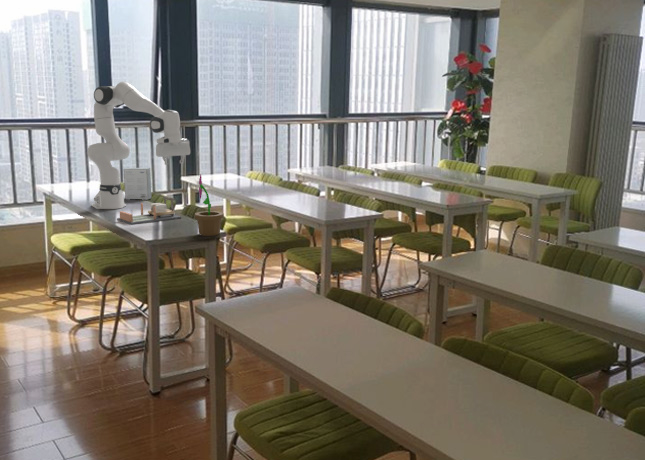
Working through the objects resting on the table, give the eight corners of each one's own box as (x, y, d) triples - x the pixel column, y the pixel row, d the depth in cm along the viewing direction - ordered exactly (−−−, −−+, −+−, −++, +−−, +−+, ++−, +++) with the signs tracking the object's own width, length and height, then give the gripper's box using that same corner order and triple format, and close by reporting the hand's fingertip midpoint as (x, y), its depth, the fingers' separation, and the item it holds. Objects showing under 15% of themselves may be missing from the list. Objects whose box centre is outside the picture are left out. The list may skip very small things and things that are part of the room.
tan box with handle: (148, 214, 396) (147, 197, 395) (165, 212, 404) (165, 195, 402) (156, 217, 389) (156, 199, 387) (174, 215, 396) (174, 198, 394)
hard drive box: (152, 198, 462) (150, 167, 458) (148, 200, 455) (146, 169, 451) (128, 197, 464) (127, 167, 459) (124, 199, 456) (123, 168, 452)
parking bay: (118, 218, 388) (117, 205, 387) (142, 215, 397) (142, 202, 396) (131, 222, 376) (131, 209, 375) (156, 219, 386) (156, 206, 385)
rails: (122, 219, 385) (122, 217, 385) (168, 213, 404) (168, 211, 403) (129, 221, 380) (129, 219, 379) (175, 215, 398) (175, 213, 398)
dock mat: (117, 219, 388) (116, 218, 388) (165, 213, 408) (165, 212, 408) (131, 224, 376) (131, 222, 376) (181, 218, 395) (181, 216, 395)
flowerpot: (196, 230, 363) (195, 172, 357) (224, 230, 364) (223, 172, 358) (193, 236, 349) (192, 176, 343) (222, 236, 350) (221, 176, 344)
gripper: (186, 138, 406) (187, 162, 408) (153, 139, 392) (155, 164, 395) (191, 138, 401) (193, 163, 403) (159, 140, 388) (160, 165, 390)
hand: (174, 163), depth 399 cm, fingers open, 8 cm apart
